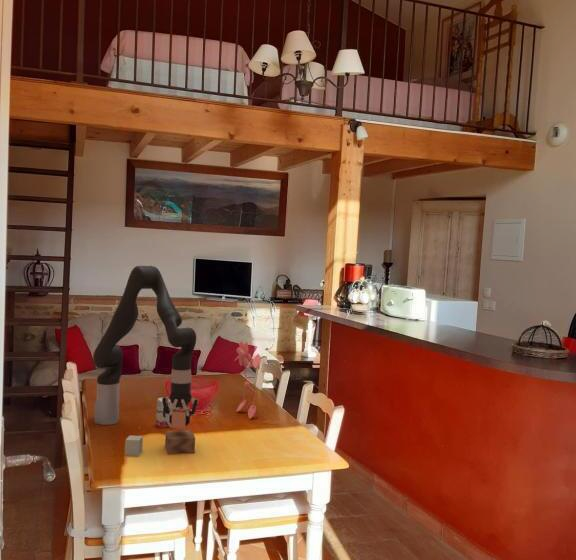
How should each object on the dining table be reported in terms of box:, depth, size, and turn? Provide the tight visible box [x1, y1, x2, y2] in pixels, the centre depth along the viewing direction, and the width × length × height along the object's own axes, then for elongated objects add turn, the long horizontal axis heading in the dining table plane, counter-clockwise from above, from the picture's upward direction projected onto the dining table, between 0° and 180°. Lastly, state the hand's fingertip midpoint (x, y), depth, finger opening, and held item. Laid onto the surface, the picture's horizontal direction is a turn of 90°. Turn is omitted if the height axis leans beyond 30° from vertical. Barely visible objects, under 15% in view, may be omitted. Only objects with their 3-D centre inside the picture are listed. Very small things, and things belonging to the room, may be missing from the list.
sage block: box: [124, 434, 144, 457], centre depth 227 cm, size 5×5×6 cm
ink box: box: [155, 397, 180, 429], centre depth 263 cm, size 8×5×12 cm, turn 123°
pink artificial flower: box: [226, 340, 262, 423], centre depth 281 cm, size 15×26×35 cm, turn 30°
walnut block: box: [164, 429, 196, 455], centre depth 234 cm, size 10×10×6 cm
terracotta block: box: [171, 408, 187, 430], centre depth 234 cm, size 5×5×6 cm
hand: (179, 424), depth 234 cm, fingers closed on terracotta block, 5 cm apart
